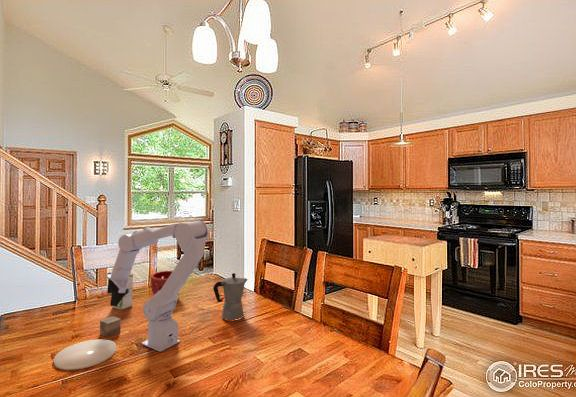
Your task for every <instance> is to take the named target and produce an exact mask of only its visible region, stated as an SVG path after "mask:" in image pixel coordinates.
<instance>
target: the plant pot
mask: <svg viewBox="0 0 576 397" xmlns="http://www.w3.org/2000/svg"><path fill="white" fill-rule="evenodd" d="M172 272H173V270H164V271H158V272H155V273H153V274H151V276H150V288H151V291H152V294H153V295H152V296H154V295H155V294H156V293H157V292H159V291H160V290H161V288H162V287H163V285H164V284H165V282H166V281H167V279H168V278H169V276H170V275H171V273H172ZM178 296H179V297H180V295H179V293H178Z"/></svg>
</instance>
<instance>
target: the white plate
mask: <svg viewBox="0 0 576 397" xmlns="http://www.w3.org/2000/svg"><path fill="white" fill-rule="evenodd" d="M116 352H117V344H116V343H115V342H114V341H112V340H111V339H105V338H104V339H98V338H97V339H89V340H84V341H80V342H77V343H74V344H71V345H69V346H67V347H64V348H63V349H62V350H60V351H59V352H57V353H56V354H55V356H54V357H53V366H55V368H58V369H60V370H63V371H75V370H81V369H87V368H90V367H93V366H96V365H99V364H102V363H105V361H107V360H109V359H110V358H112V356H113V355H114V354H115V353H116Z"/></svg>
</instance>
